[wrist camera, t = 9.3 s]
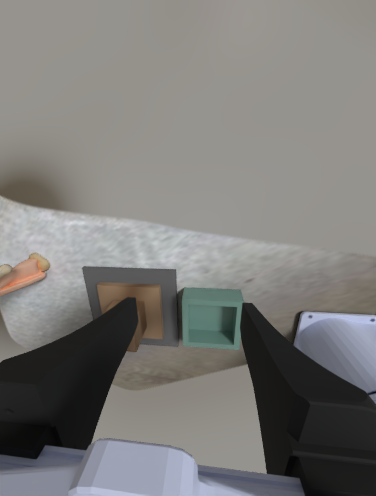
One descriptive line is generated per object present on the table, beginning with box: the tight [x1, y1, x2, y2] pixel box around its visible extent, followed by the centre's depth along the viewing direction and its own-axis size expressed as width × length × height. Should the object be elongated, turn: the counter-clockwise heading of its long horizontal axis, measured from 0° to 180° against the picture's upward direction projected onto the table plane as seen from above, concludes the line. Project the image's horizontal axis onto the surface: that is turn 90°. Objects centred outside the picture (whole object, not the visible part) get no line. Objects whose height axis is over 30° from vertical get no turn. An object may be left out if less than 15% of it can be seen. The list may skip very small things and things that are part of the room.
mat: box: [82, 266, 179, 347], centre depth 26 cm, size 12×12×1 cm
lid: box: [97, 282, 164, 352], centre depth 23 cm, size 8×8×5 cm
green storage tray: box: [182, 288, 244, 350], centre depth 24 cm, size 7×7×2 cm
